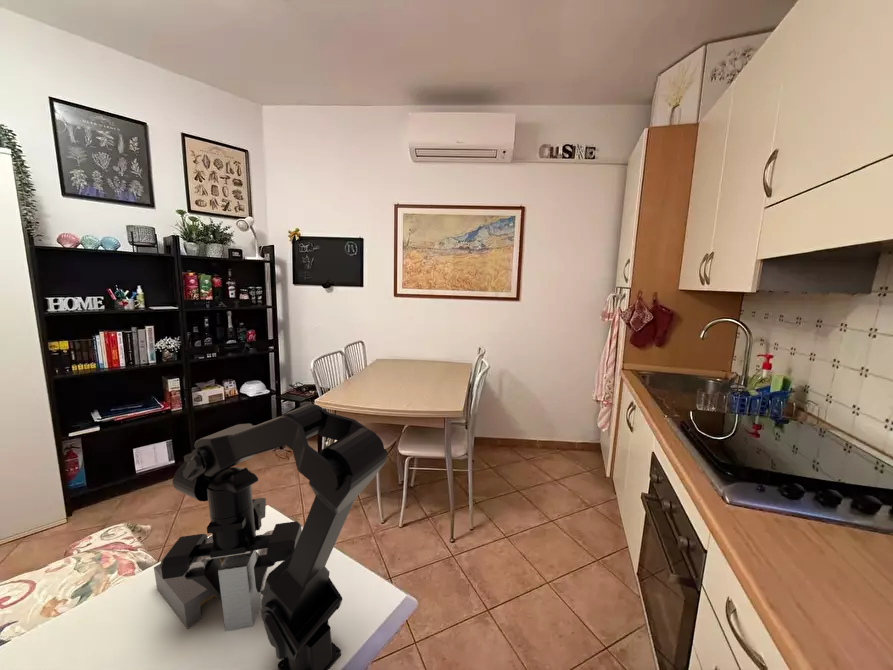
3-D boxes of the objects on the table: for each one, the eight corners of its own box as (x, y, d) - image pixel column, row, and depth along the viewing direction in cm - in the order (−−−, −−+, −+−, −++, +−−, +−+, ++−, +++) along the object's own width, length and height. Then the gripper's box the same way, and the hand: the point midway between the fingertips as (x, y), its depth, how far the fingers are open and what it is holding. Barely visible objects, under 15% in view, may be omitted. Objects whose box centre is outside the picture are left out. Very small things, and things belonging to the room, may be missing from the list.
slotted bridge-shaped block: (261, 575, 65) (259, 554, 64) (187, 628, 55) (183, 604, 54) (228, 546, 72) (226, 527, 71) (157, 589, 62) (153, 567, 61)
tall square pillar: (260, 603, 59) (255, 547, 57) (252, 626, 55) (246, 566, 54) (234, 608, 58) (227, 550, 57) (224, 631, 54) (217, 570, 53)
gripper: (305, 472, 63) (310, 547, 66) (191, 484, 60) (201, 563, 62) (290, 511, 52) (297, 599, 55) (150, 529, 49) (165, 622, 51)
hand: (241, 593), depth 56 cm, fingers open, 5 cm apart
